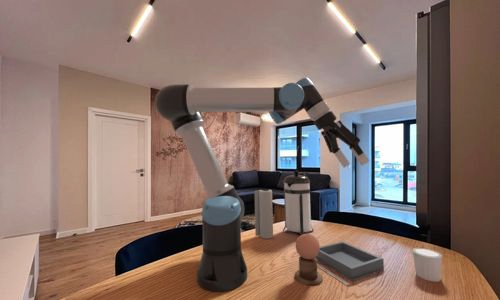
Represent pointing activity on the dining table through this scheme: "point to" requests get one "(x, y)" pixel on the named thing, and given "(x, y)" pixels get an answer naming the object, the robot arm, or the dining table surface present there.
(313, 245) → the ball
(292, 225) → the coffee press
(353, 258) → the tray
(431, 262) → the white short cylinder
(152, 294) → the dining table surface
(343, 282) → the line
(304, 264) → the tee
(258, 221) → the gray grooved column
